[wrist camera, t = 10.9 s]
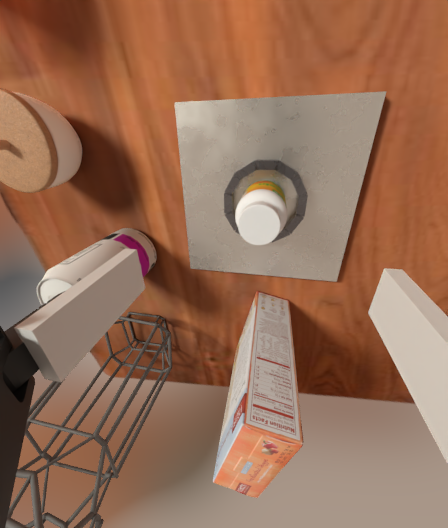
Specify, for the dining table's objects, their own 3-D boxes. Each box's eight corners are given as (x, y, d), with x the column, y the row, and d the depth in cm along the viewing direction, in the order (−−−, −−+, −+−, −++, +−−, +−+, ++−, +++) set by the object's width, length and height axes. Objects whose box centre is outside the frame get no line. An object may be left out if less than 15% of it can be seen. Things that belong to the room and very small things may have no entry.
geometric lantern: (108, 292, 45) (-232, 606, 14) (185, 304, 43) (-25, 701, 12) (122, 349, 52) (-85, 634, 22) (187, 361, 50) (60, 696, 20)
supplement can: (156, 230, 36) (88, 279, 23) (160, 274, 40) (104, 337, 27) (110, 223, 37) (20, 267, 24) (118, 266, 41) (45, 324, 28)
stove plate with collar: (381, 93, 23) (393, 88, 21) (334, 277, 34) (339, 287, 31) (178, 103, 27) (168, 100, 25) (193, 265, 38) (187, 273, 35)
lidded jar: (27, 81, 30) (-67, 59, 21) (102, 121, 30) (38, 114, 22) (29, 162, 35) (-46, 169, 27) (92, 195, 35) (38, 211, 27)
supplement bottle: (293, 190, 28) (301, 213, 20) (272, 227, 31) (270, 261, 22) (254, 171, 28) (245, 185, 20) (236, 210, 31) (221, 237, 22)
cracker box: (266, 354, 44) (258, 502, 26) (236, 344, 44) (208, 483, 26) (292, 299, 37) (307, 450, 19) (256, 288, 37) (237, 426, 19)
